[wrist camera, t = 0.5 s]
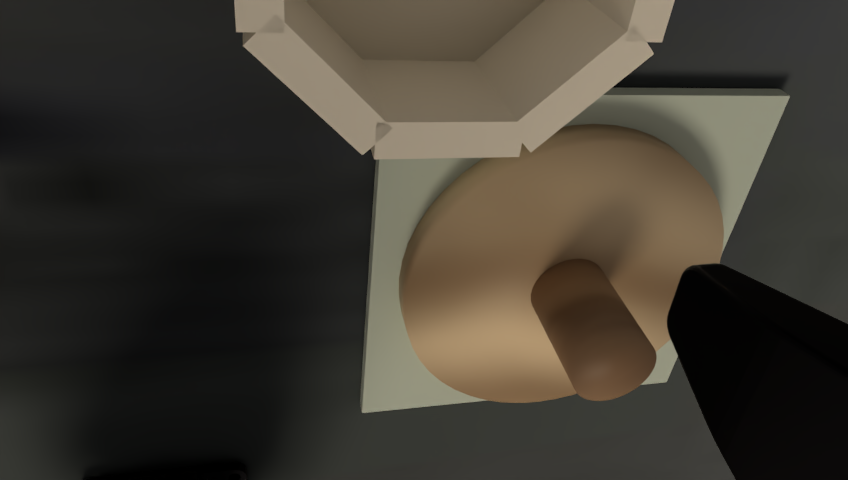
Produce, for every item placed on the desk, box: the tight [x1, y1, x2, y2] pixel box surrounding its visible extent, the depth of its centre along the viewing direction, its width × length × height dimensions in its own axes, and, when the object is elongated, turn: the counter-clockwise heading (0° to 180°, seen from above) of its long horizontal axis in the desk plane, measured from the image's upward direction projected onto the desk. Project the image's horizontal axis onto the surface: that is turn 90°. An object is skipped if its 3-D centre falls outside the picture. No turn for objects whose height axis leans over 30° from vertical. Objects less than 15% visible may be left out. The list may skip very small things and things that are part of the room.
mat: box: [360, 88, 790, 413], centre depth 26 cm, size 14×14×1 cm
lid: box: [399, 124, 724, 403], centre depth 24 cm, size 12×12×5 cm
